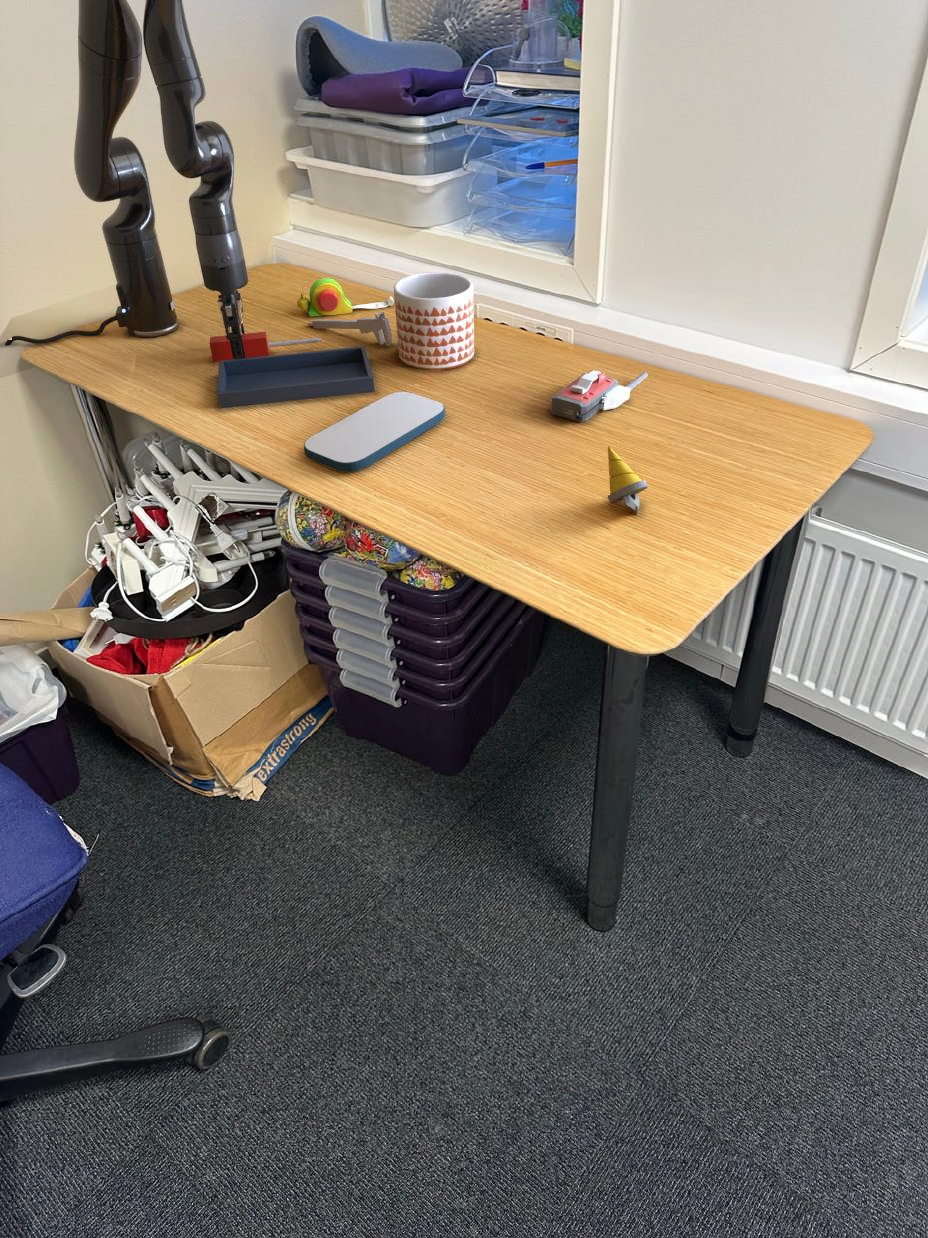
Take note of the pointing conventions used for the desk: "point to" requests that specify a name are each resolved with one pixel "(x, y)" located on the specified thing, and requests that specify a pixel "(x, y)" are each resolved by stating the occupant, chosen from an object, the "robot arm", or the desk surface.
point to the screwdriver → (250, 345)
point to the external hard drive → (374, 431)
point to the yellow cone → (624, 482)
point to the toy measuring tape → (332, 300)
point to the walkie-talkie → (591, 396)
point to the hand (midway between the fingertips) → (239, 349)
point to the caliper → (360, 326)
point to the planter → (434, 320)
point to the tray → (294, 377)
